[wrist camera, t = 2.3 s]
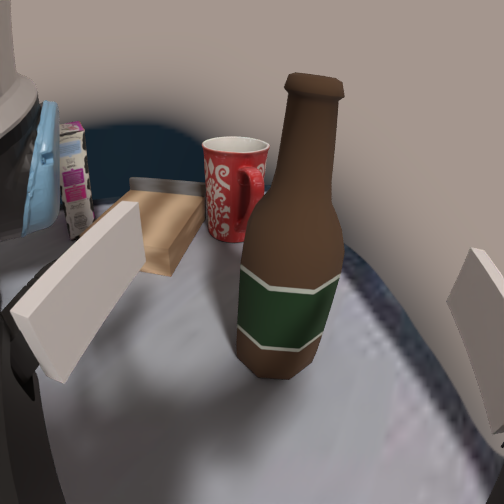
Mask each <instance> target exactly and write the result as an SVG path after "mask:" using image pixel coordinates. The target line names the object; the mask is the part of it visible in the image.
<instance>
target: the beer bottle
mask: <svg viewBox="0 0 504 504" xmlns="http://www.w3.org/2000/svg"><path fill="white" fill-rule="evenodd" d="M284 88H285V90H286V91H287V92H288V99H287V106H286V113H285V118H284V125H283V130H282V137H281V143H280V149H279V155H278V161H277V167H276V171H275V174H274V178H273V182H272V185H271V188H270V189H269V190H268V191H267V193H266V194H265V195H264V196H263V197H262V198H261V199H260V200H259V201H258V203H257V204H256V205H255V207H254V209H253V211H252V213H251V215H250V217H249V219H248V222H247V227H246V232H245V238H244V244H243V251H242V257H241V265H240V283H239V302H238V321H237V341H236V350H237V357H238V359H239V360H241V361H242V362H243V363H244V364H245V365H246V366H247V367H248V368H249V369H250V370H251V371H252V372H253V373H254V374H255V375H256V376H257V377H259V378H271V379H285V380H289V379H291V378H292V377H294V376H295V375H296V374H297V373H299V372H300V371H301V370H303V369H304V368H305V367H307V366H308V365H309V364H310V363H312V361H313V359H314V356H315V354H316V352H317V349H318V346H319V343H320V340H321V337H322V334H323V331H324V328H325V324H326V321H327V318H328V315H329V312H330V308H331V305H332V302H333V298H334V295H335V292H336V288H337V285H338V281H339V278H340V274H341V269H342V263H343V258H344V252H345V251H344V243H343V237H342V229H341V226H340V223H339V220H338V217H337V214H336V212H335V209H334V207H333V205H332V202H331V180H332V171H333V161H334V151H335V140H336V128H337V115H338V101H339V100H341V99H342V98H344V90H343V83H342V82H341V81H339V80H338V79H336V78H332V77H326V76H320V75H312V74H305V73H296V72H295V73H292V74H289V75H288V78H287V81H286V83H285V86H284Z"/></svg>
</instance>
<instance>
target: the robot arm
mask: <svg viewBox="0 0 504 504" xmlns="http://www.w3.org/2000/svg"><path fill="white" fill-rule="evenodd" d="M59 209H60V128H59V111H58V105H57V103H56V102H48V101H44V102H42V103H41V104H39V99H38V92H37V88H36V84H35V82H34V81H33V80H32V79H30V78H28V77H26V76H23V75H21V74H19V73H17V72H16V66H15V57H14V49H13V38H12V23H11V0H0V242H1V241H5V240H9V239H13V238H18V237H25V236H26V235H27V234H29V233H32V232H35V231H38V230H42V229H45V228H48V227H49V226H51V225H52V224H53V223H54V222H55V221H56V219H57V217H58V214H59ZM145 262H146V258H145V251H144V244H143V236H142V228H141V220H140V211H139V202H130V201H121V202H120V203H119V204H118V205H116V206H115V207H114V208H113V209H112V210H111V211H109V212H108V213H107V214H106V215H105V216H104V217H103V218H102V219H100V220H99V221H98V222H97V223H96V224H95V225H94V226H93V227H92V228H90V229H89V230H88V231H87V232H86V233H85V234H84V235H83V236H82V237H81V238H80V239H79V240H77V241H76V242H75V243H74V244H73V245H72V246H71V247H70V248H69V249H68V250H67V251H66V252H65V253H64V254H63V255H62V256H61V257H60V258H59V259H58V260H54V261H52V262H51V263H49V264H47V265H46V266H44V267H43V268H42V269H41V270H40V271H39V272H38V273H37V274H36V275H35V276H34V278H32V279H31V280H30V281H29V282H28V283H27V286H24V287H23V288H22V290H21V291H20V292H19V293H18V294H17V295H16V296H15V297H14V298H13V299H12V300H11V302H10V303H9V304H8V305H7V306H6V307H5V308H4V309H3V311H2V312H0V504H66V502H65V499H64V496H63V493H62V490H61V487H60V483H59V480H58V476H57V473H56V469H55V466H54V462H53V458H52V454H51V450H50V445H49V441H48V436H47V431H46V426H45V421H44V415H43V409H42V403H41V396H40V389H39V381H38V377H37V374H36V372H35V370H36V368H37V367H38V365H40V366H41V368H42V370H43V371H44V373H45V374H46V376H47V377H50V378H52V379H54V380H56V381H59V382H61V383H63V384H65V383H66V381H67V379H68V378H69V376H70V374H71V373H72V371H73V370H74V368H75V366H76V365H77V363H78V361H79V360H80V358H81V357H82V355H83V353H84V352H85V350H86V349H87V347H88V346H89V344H90V342H91V341H92V339H93V338H94V336H95V335H96V333H97V332H98V330H99V329H100V327H101V326H102V324H103V322H104V321H105V319H106V318H107V316H108V315H109V314H110V312H111V311H112V309H113V308H114V306H115V305H116V303H117V302H118V300H119V299H120V297H121V296H122V295H123V293H124V292H125V290H126V289H127V287H128V286H129V285H130V283H131V282H132V280H133V279H134V277H135V276H136V275H137V273H138V272H139V271H140V269H141V268H142V266H143V265H144V264H145ZM446 302H447V304H448V306H449V309H450V311H451V313H452V316H453V318H454V320H455V323H456V325H457V328H458V330H459V333H460V335H461V338H462V340H463V343H464V346H465V348H466V351H467V353H468V356H469V359H470V362H471V365H472V368H473V371H474V373H475V376H476V380H477V383H478V386H479V389H480V392H481V395H482V399H483V402H484V405H485V409H486V413H487V416H488V420H489V424H490V428H491V432H492V434H498V433H503V432H504V277H503V276H502V274H501V273H500V272H499V270H498V269H497V267H496V266H495V265H494V263H493V262H492V260H491V259H490V258H489V256H488V255H487V253H486V252H485V251H484V250H481V249H476V248H470V250H469V252H468V255H467V257H466V259H465V262H464V264H463V266H462V269H461V271H460V273H459V276H458V278H457V280H456V282H455V284H454V286H453V289H452V290H451V293H450V295H449V297H448V299H447V301H446ZM501 447H502V448H503V447H504V442H503V444H502V445H501ZM486 504H504V464H503V467H502V469H501V472H500V474H499V476H498V479H497V481H496V483H495V485H494V488H493V490H492V492H491V494H490V496H489V498H488V500H487V502H486Z"/></svg>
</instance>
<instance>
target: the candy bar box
mask: <svg viewBox="0 0 504 504" xmlns="http://www.w3.org/2000/svg"><path fill="white" fill-rule="evenodd" d="M59 128H60V191H61V197H62V202H63V208H64V212H65V217H66V222H67V227H68V231H69V236H70V240H73V239H77V238H80V236H79V235H80V234H81V233H82V232H84V231H85V230H86V229H87V228H88V227H89V226H90V225H91V224H92V223H93V222H94V221H95V215H94V209H93V202H92V195H91V188H90V180H89V172H88V163H87V153H86V142H85V130H84V129H83V127H82V125H81V123H80V122H79V121H77V122H71V123H66V124H62V125H59Z"/></svg>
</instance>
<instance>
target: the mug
mask: <svg viewBox="0 0 504 504" xmlns="http://www.w3.org/2000/svg"><path fill="white" fill-rule="evenodd" d="M202 147H203V149H204V163H205V180H206V197H207V211H208V228H209V232H210V234H211V235H212V236H213V237H214V238H216V239H218V240H221V241H224V242H232V243H235V242H243V241H244V238H245V232H246V227H247V222H248V219H249V217H250V215H251V213H252V211H253V209H254V207H255V205H256V204H257V203H258V201H259V200H260V199H261V198H262V197H263V196H264V174H265V168H266V159H267V153H268V150H269V148H270V146H269V144H268V143H266V142H264V141H261V140H258V139H253V138H246V137H218V138H212V139H208V140H206V141H204V142H203V143H202Z"/></svg>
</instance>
